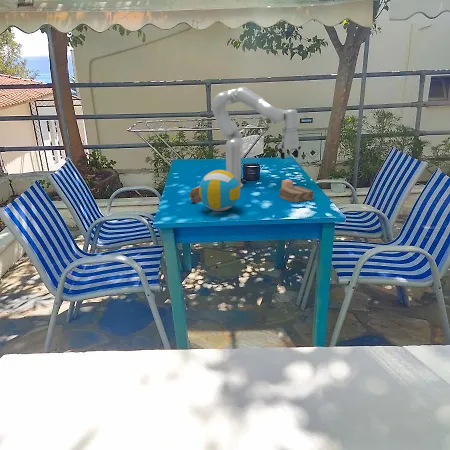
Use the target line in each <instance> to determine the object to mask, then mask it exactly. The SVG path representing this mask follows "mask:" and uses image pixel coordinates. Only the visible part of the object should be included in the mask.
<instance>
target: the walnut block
mask: <svg viewBox="0 0 450 450" xmlns="http://www.w3.org/2000/svg"><path fill="white" fill-rule="evenodd" d="M279 198H281V199H284V200H286V201H288V202H290V203H292V202H295V203H300V202H299V201H301V202H306V200H307V201H312V200H311V199H313V200H314V191H313V190H311V189H308V188H306V187H303V186H300V185H297V186H293V187H288V188H282V187H281V188H279Z"/></svg>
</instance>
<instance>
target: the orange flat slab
mask: <svg viewBox="0 0 450 450" xmlns="http://www.w3.org/2000/svg"><path fill="white" fill-rule="evenodd" d="M199 186H200V185H198V186H197V187H194V188H192V189H191V190H190V192H189V198H190V201H191V202H192V203H195V204H197V203H200V202H202V200H201V198H200V195H199Z"/></svg>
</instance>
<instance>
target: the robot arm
mask: <svg viewBox="0 0 450 450" xmlns="http://www.w3.org/2000/svg"><path fill="white" fill-rule="evenodd" d="M239 102H240V103H242V104H243V105H245V106H247V107H249V108H251V109H252V110H254V111H255V112H257V113H259V114H260V115H262V116H263V117H265V118H267V119H268V120H270V121H272V122H273V123H276V124H278V123H281V122H284V124H283V125H284V128H282V132H283V133H282V137H281V142H280V143H279V144H277V146H276V147H277V149H278V151H279V152H280V158H281V159H283V160H284V159H285V151H286V150H294V152H293V153H294V154H293V155H294V156H293V157H294V158H298V157H299V152H300V150H301V149H302V145H303V143H301V142H299V139H300V138H299V133H298V132H297V130H298V129H297V128H298V127H297V126H298V123H297V122H298V110H297V109H293V108H292V109H291V108H289V109H288V108H287V109H283V108H277V107H275V106H273V105H272V104H269V102H267V101H266V100H265V99H264V97H262V96H260V95H258V94H257V93H256V92H253V91H252V90H250V89H249V88H248V87H247V86H245V85H244V86H238V87H237V88H232V89H229V90H225V91H220V92H218V93H217V94H216V95H215V96H214V98H213V100H212V103H211V107H212V108H211V111H212V113H213V117H214V118H215V121H216V124H217V126H218V128H219V132H220V134H221V135H222V136H223V137H225V138H226V140H227V141H226V143H225V168H226V169H225V171H228V172H230V173H231V174H232V175H234V177H235V178H236V179H237V180H238V183H239V185H240V189H241V188H243V187H244V184H243V183H242V181H241V180H242V176H241V175H242V169H241V168H242V156H241V155H242V154H241V153H242V151H241V149H242V147H243V146H244V145H243V144H244V141H243V138H242V136H241V135H242V134H241V133H240V130H239V128H238V125H237V124H236V123H235V121H233V120H231V118H230V114H229V113H228V111H227V108H226V107H227V106H229V105H232V104H236V103H237V104H238V103H239Z"/></svg>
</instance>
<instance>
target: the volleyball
mask: <svg viewBox="0 0 450 450" xmlns="http://www.w3.org/2000/svg"><path fill="white" fill-rule="evenodd" d="M198 186H199V195H200V198H201V200H202V201H201V202H202V203H203V205H204V206H205V207H207V208H208V209H210V210H212V211H215V212H222V211H227V210H229V209H232V208H233V206H235V205H236V204H237V203H238V200H239V198H240V195H241V188H240V185H239V183H238V180H237V179H236V178H235V177H234V175H232V174H231V173H230V172H228V171H226V169H225V170H224V169H215V170H212V171H209V172H208V173H207V174H205V175H204V176H203V177H202V179H201V180H200V184H199V185H198Z"/></svg>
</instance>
